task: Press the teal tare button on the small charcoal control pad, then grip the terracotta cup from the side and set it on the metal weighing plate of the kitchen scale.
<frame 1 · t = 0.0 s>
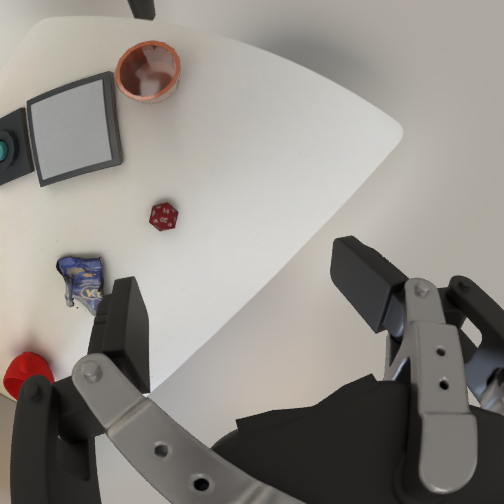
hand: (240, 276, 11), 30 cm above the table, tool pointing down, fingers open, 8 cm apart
snack package: (86, 280, 40), on the table
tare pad: (9, 147, 25), on the table
cup: (153, 80, 29), on the table
dice: (164, 211, 39), on the table
ceramic cup: (35, 355, 44), on the table
scale: (74, 128, 28), on the table
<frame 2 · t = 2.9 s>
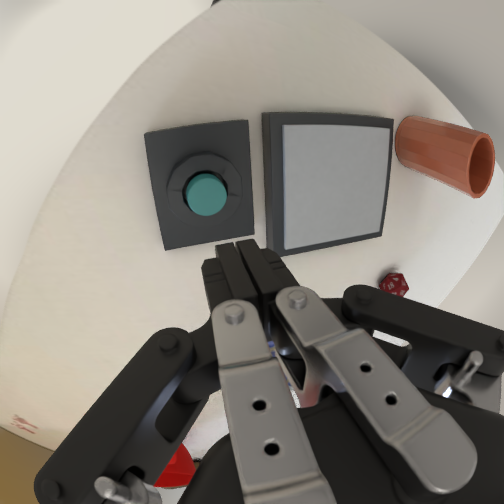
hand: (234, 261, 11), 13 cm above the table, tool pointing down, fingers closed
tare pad: (201, 182, 22), on the table
cup: (413, 142, 26), on the table
dice: (384, 278, 35), on the table
ceramic cup: (157, 431, 40), on the table
tare button: (206, 194, 19), point 3 cm above the table, slide at 0.1 cm
scale: (328, 178, 25), on the table
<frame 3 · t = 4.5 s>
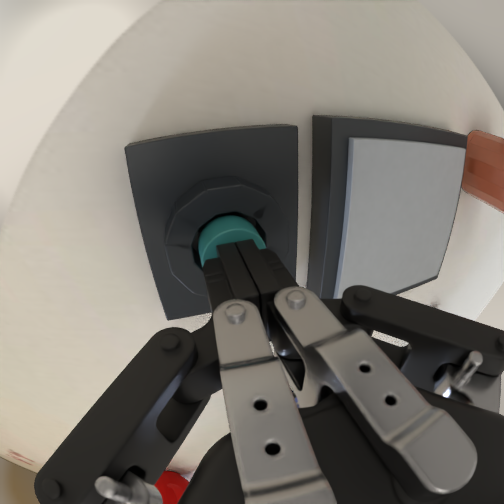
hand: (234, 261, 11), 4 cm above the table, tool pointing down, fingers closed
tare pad: (219, 222, 15), on the table
cup: (474, 162, 18), on the table
ceramic cup: (163, 471, 33), on the table
tare button: (231, 250, 12), point 3 cm above the table, slide at 0.0 cm, touching gripper
scale: (389, 211, 18), on the table
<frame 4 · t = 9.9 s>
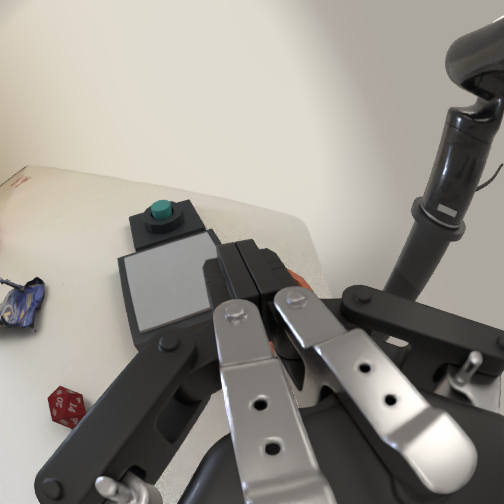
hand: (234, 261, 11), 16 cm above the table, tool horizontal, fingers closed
snack package: (18, 314, 26), on the table
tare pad: (165, 228, 39), on the table
dice: (78, 414, 19), on the table
tare button: (161, 209, 37), point 3 cm above the table, slide at 0.1 cm
scale: (181, 289, 31), on the table
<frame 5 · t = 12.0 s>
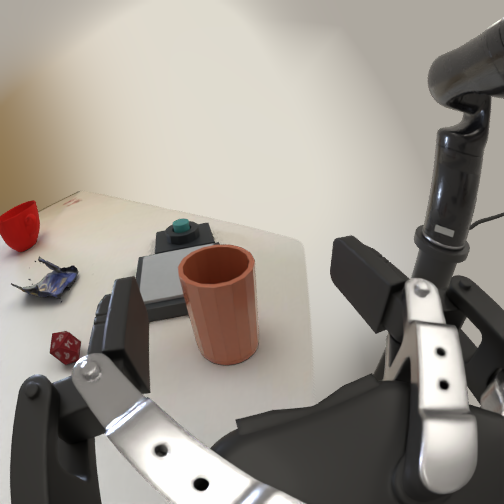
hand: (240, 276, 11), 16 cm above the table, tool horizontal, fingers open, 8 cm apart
snack package: (51, 291, 37), on the table
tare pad: (184, 243, 48), on the table
cup: (228, 341, 28), on the table
dice: (73, 359, 25), on the table
ceramic cup: (30, 246, 53), on the table
tare button: (181, 226, 46), point 3 cm above the table, slide at 0.1 cm
scale: (183, 284, 38), on the table
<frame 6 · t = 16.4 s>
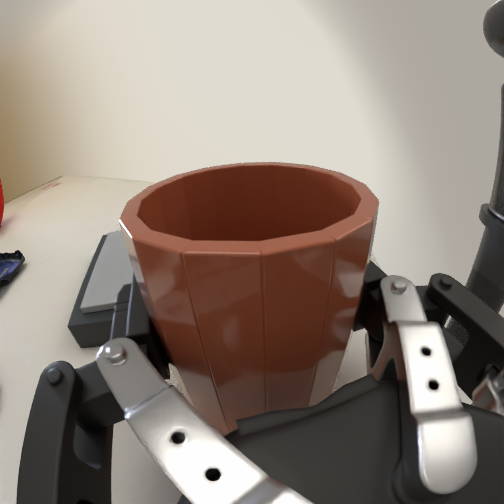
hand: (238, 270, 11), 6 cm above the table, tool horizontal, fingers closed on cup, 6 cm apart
cup: (260, 396, 12), on the table, touching gripper
scale: (168, 276, 21), on the table
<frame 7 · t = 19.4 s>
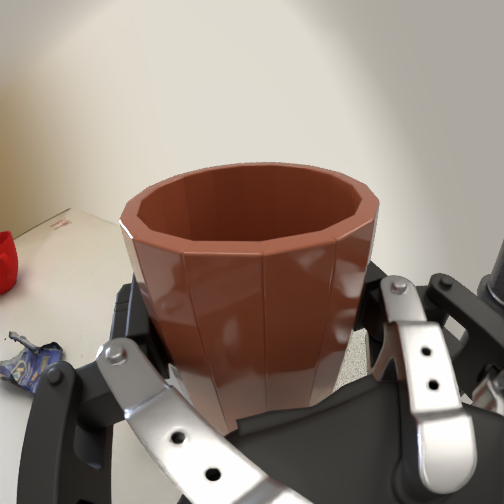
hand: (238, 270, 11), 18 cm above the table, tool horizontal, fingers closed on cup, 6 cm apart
snack package: (32, 373, 24), on the table
cup: (260, 396, 12), point 12 cm above the table, touching gripper
ceramic cup: (9, 288, 39), on the table
when the fingers open (9 cm above the table, at t = 23.7 s): cup stays where it is, resting on scale.
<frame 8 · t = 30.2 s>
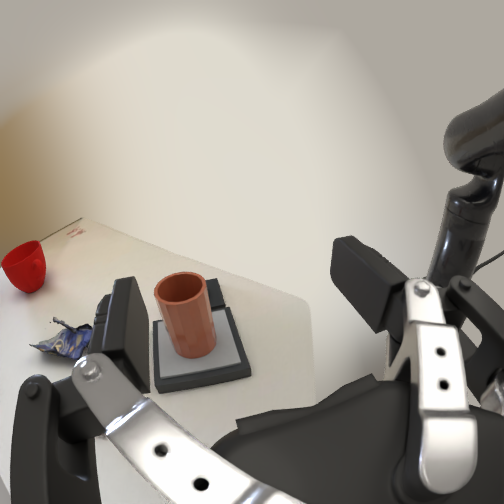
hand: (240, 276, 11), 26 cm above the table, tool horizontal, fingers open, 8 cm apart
snack package: (68, 348, 38), on the table
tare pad: (195, 301, 49), on the table
cup: (194, 341, 38), point 2 cm above the table, touching scale
ceramic cup: (38, 287, 54), on the table
scale: (198, 351, 39), on the table
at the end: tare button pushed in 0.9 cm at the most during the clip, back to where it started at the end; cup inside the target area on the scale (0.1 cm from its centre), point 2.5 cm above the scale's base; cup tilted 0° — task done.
